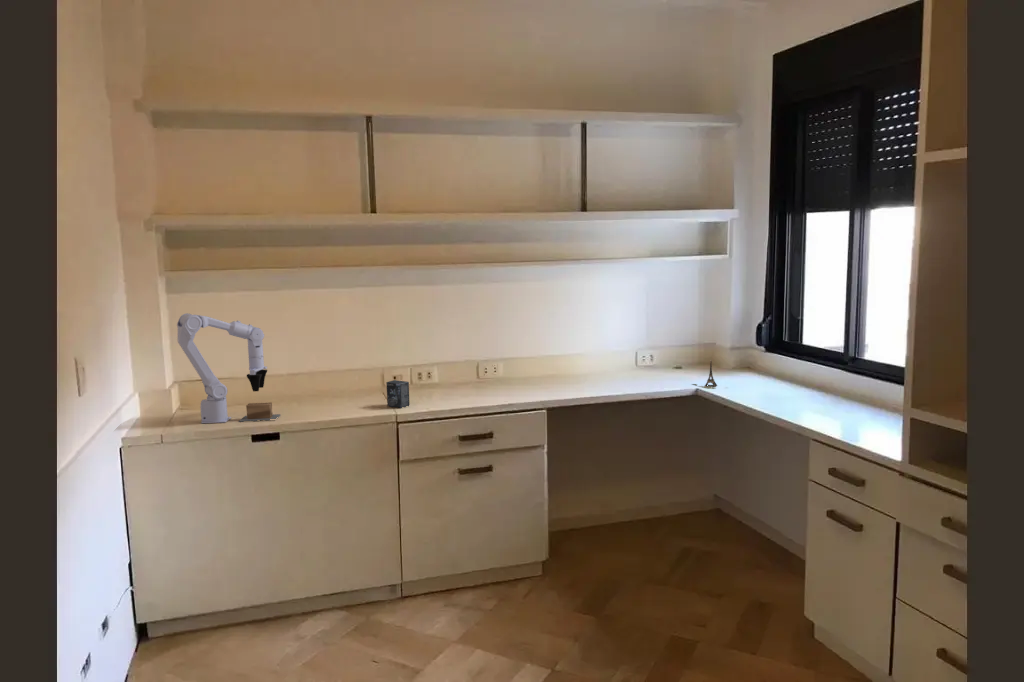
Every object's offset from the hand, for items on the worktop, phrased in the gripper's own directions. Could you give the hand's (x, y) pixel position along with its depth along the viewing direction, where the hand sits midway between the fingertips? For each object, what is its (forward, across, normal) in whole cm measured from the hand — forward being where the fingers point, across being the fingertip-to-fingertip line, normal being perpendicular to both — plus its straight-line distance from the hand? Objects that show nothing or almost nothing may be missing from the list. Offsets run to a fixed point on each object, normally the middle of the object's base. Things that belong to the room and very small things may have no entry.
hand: (258, 389), depth 310 cm
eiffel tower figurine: (+11, +22, -196) cm, 198 cm away
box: (+11, +5, -56) cm, 57 cm away
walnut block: (+10, -8, -2) cm, 13 cm away
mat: (+10, -8, -2) cm, 13 cm away
